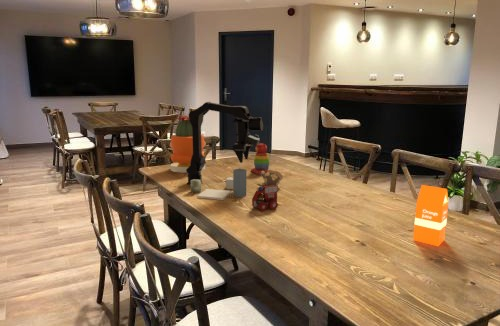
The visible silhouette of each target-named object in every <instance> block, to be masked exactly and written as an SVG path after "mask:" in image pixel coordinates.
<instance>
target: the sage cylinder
mask: <svg viewBox="0 0 500 326" xmlns="http://www.w3.org/2000/svg"><path fill="white" fill-rule="evenodd" d="M201 185H202V182H201V180H199V179H193V180H191V184H190V193H191V194H201V193H202V192H201V191H202V189H201V188H202V187H201Z"/></svg>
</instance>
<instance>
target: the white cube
mask: <svg viewBox="0 0 500 326" xmlns="http://www.w3.org/2000/svg"><path fill="white" fill-rule="evenodd" d="M225 189H226V190H228V189H229V190H233V177H231V176H228V177H227V178H225Z"/></svg>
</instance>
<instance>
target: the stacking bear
mask: <svg viewBox="0 0 500 326" xmlns="http://www.w3.org/2000/svg"><path fill="white" fill-rule="evenodd" d="M267 151H268V146H267V144H265V143H261V142H259V144H258V145H257V146H255V152H256V153H255V155H254V158H253V164H254V167H253V168H251V169H250V172H251V173H255V175H260V173H261V171H264V172H265V173H268V171H269V170H270V169H269V167H270V157H269V154H268V153H267ZM260 176H261V175H260Z"/></svg>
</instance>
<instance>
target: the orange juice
mask: <svg viewBox="0 0 500 326" xmlns="http://www.w3.org/2000/svg"><path fill="white" fill-rule="evenodd" d="M448 210H449V196H448V189H447V188H445V187H443V188H442V187H437V186H431V185H425V184H421V187H420V190H419V192H418V196H417V200H416V209H415V215H414V227H413V239H412V241H414V242H415V241H416V242H420V243H423V244H428V245H431V246H435V247H440V245H441V244H443V242H444V241H445V239H446V226H447V221H448Z"/></svg>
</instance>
